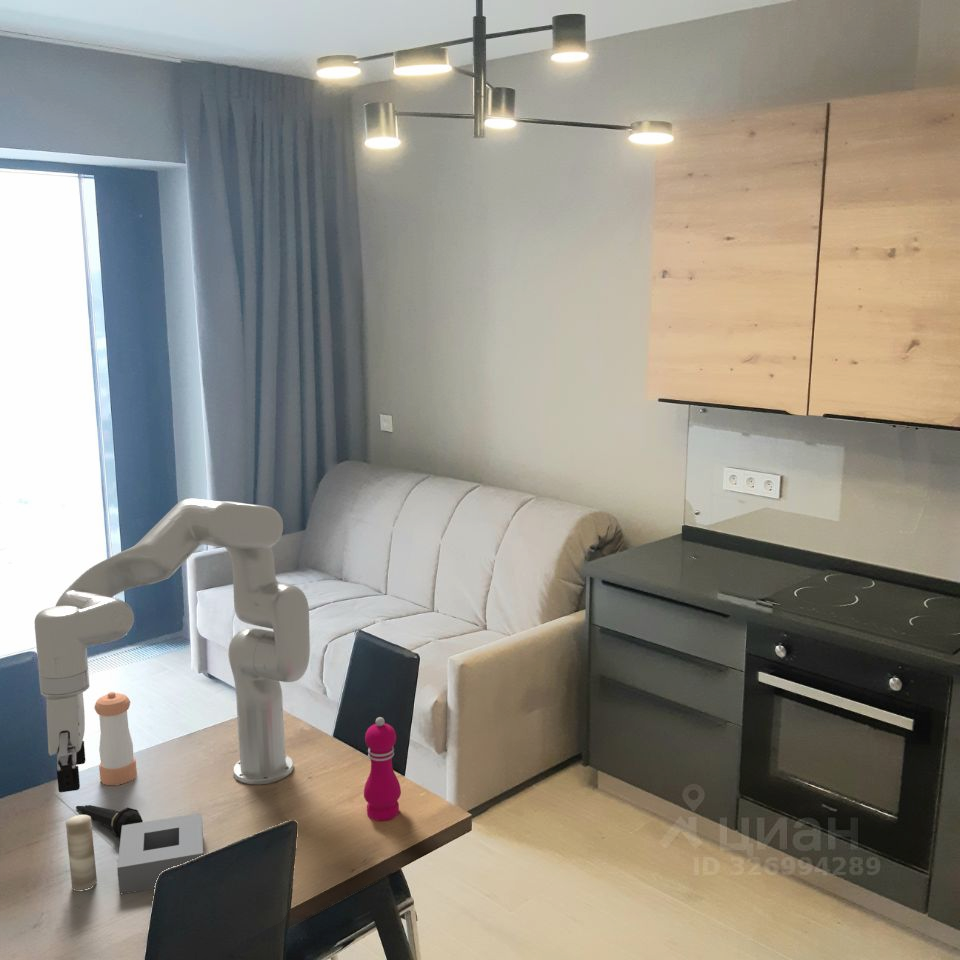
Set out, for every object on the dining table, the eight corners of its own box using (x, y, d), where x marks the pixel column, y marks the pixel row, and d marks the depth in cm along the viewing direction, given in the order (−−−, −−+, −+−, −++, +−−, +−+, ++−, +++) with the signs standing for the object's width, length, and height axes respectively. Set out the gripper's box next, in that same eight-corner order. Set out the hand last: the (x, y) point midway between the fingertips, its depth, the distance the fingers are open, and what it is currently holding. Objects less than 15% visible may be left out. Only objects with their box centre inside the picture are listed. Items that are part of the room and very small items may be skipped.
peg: (73, 880, 167) (67, 816, 164) (97, 875, 168) (92, 813, 166) (70, 893, 163) (64, 828, 161) (95, 888, 164) (89, 824, 162)
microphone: (72, 828, 189) (130, 848, 177) (59, 805, 187) (117, 824, 175) (94, 808, 193) (153, 827, 181) (82, 786, 191) (140, 804, 179)
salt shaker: (137, 781, 201) (130, 696, 197) (100, 788, 198) (92, 702, 195) (135, 766, 207) (129, 683, 204) (100, 773, 205) (92, 689, 201)
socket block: (124, 850, 175) (122, 825, 175) (203, 837, 180) (201, 812, 179) (119, 894, 162) (117, 867, 161) (205, 879, 166) (203, 853, 165)
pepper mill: (395, 824, 183) (392, 726, 180) (359, 820, 185) (355, 724, 181) (405, 805, 190) (403, 711, 187) (371, 801, 192) (367, 708, 188)
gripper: (46, 665, 165) (54, 757, 168) (32, 703, 149) (41, 805, 152) (93, 660, 168) (100, 752, 171) (83, 697, 151) (91, 798, 154)
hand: (72, 776), depth 161 cm, fingers open, 9 cm apart
